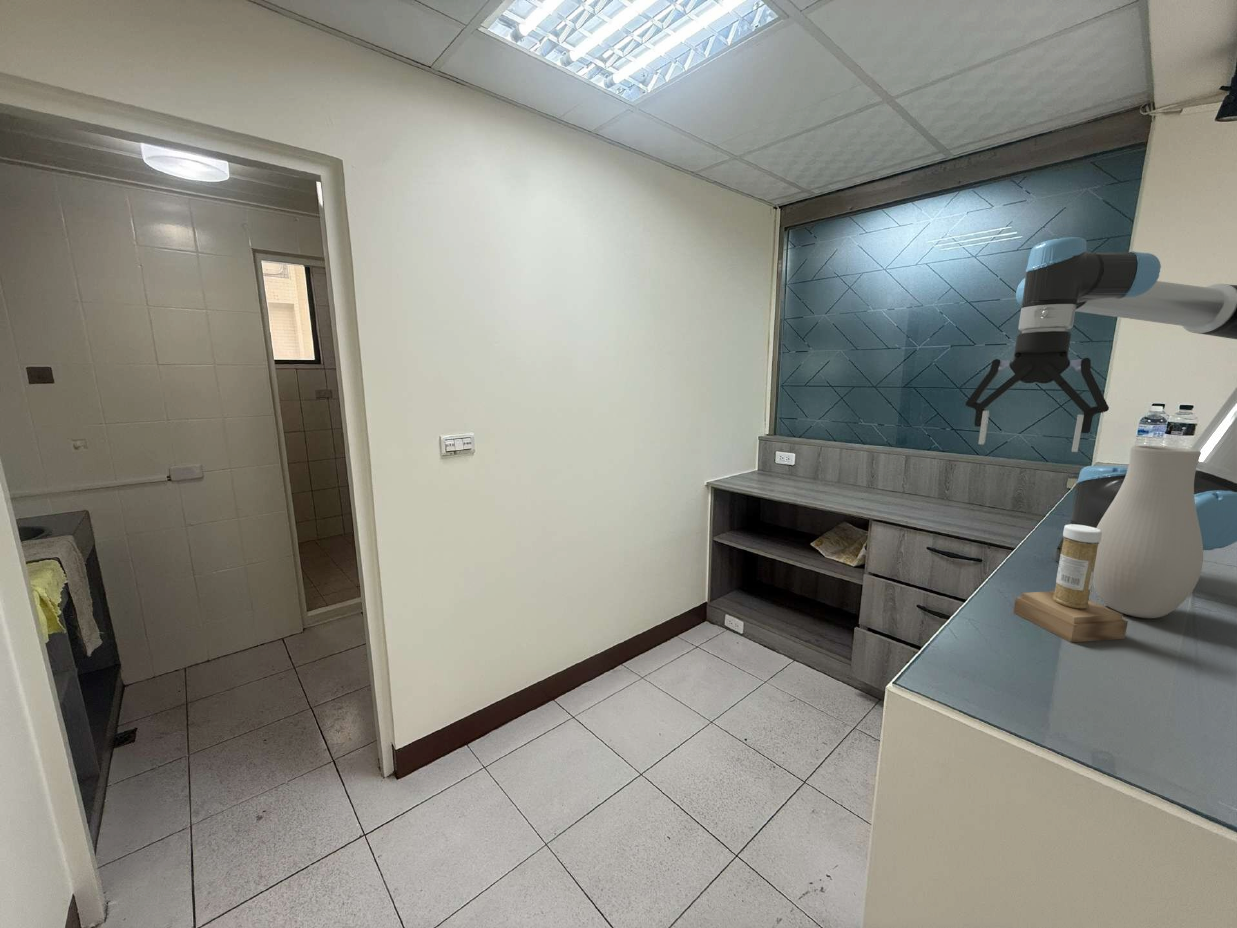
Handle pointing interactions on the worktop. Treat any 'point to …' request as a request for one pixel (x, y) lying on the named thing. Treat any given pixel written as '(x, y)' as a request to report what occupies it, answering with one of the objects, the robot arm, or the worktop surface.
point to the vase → (1151, 535)
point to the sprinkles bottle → (1077, 565)
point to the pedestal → (1071, 618)
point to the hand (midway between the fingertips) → (1025, 447)
